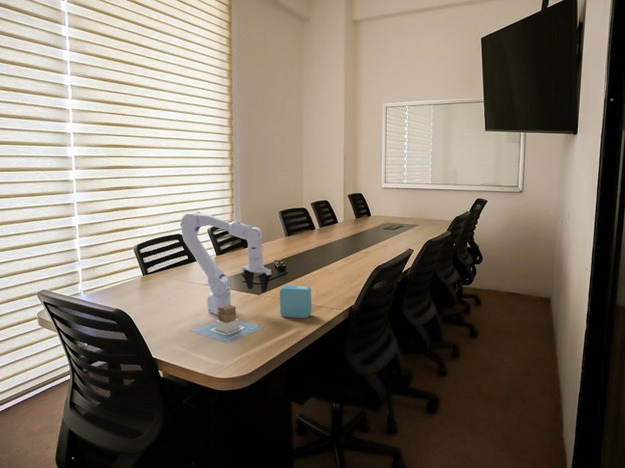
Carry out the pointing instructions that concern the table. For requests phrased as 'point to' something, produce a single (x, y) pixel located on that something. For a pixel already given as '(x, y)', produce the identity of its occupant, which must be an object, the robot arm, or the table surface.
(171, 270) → the table surface
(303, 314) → the data package
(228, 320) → the walnut block
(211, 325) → the blueprint board
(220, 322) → the base block
